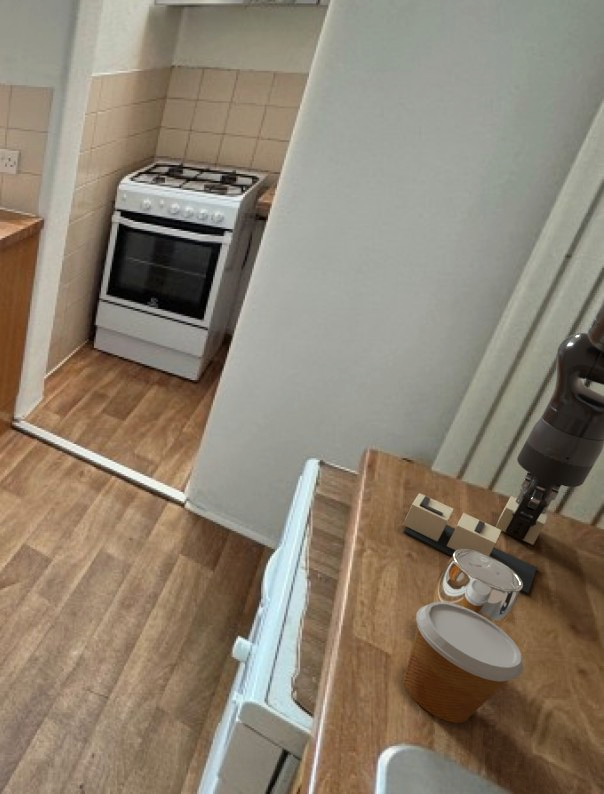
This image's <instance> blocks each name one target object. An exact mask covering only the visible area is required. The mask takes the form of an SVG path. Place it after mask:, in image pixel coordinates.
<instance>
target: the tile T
mask: <svg viewBox="0 0 604 794" xmlns="http://www.w3.org/2000/svg"><path fill="white" fill-rule="evenodd" d="M516 499H517V497H515V496H512V495H511V496H510V497H509V499H508V501H507V503H506V505H505V506H504V509H503V511H502V512H501V514H500V516H499V518H498V520H497V523H496V525H495V527H496V528H498V529H500V530H501V532H504V533H506V529H507V527H508V525H509V523H510V521H511V520H512V517H513V515H512V514H513V512H514V511H515V510H516V509H517V507H518V504H517V503H516ZM522 513H524V512H522ZM549 513H550V512H549V511H548V510H546V512H545V513H544V514H540V516H539V518H538V519H537V522H536V525H534V526H533V527H532V526H531V527H530V529H529V531H528V533H527V534H526V536H525V538H524V539H523V540H522V541H524V542H525V543H528V544H530V545H534V544H535V543H536V541H537V539H538V537H539V535H540V533H541V532H542V530H543V528H544V527H545V525H546V523H547V519H548V516H549ZM525 514H526V513H525ZM527 515H528V514H527ZM529 516H531V515H529Z"/></svg>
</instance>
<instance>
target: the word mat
mask: <svg viewBox="0 0 604 794" xmlns="http://www.w3.org/2000/svg"><path fill="white" fill-rule="evenodd" d="M454 530H455V527H452V526H451V525H448V524H447V525H446V527H445V529H444V530H443V532H442V534H441V536H440V538H439V540H438V541H435V540H433V539H431V538H429V537H427V536H425V535H423V534H421V533H419V532H417V531H415V530H413V529H411V528H409V527H407V526H405V528H404V530H403V534H406V535H408V536H409V537H411V538H414V539H415V540H417V541H419V542H421V543H423V544H425V545H426V546H429V547H431V548H433V549H435V550H437V551H439V552H441V553H443V554H445V555H447V556H448V557H450V558H451V557H452V556H453V554H454V552H455V551H456V550H454V549H452V548H450V547H448V546H447V544H448V542H449V540H450V538H451V536H452V534H453V532H454ZM489 556H491V557H493V558H495V559H497V560H498V561H500V562H502V563H503V564H505V565H506V566H508V567H509V568H510V569H512V570H513V571H514V572H515V573H516V574H517V575H518V576H519V577H520V579H521V581H522V583H523V587H522V589H521V591H520V593H523V594H525V595H529V593H530V590H531V587H532V584H533V581H534V578H535V575H536V572H537V570H538V568H537V566H535V565H532V564H530V563H529V562H526V561H524V560H522V559H519V558H517V557H515V556H513V555H511V554H509V553H507V552H505V551H503V550H502V549H501V550H500V549H499V548H496V547H494V548H493V550H492V552H491V553H490V555H489Z"/></svg>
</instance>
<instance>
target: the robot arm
mask: <svg viewBox="0 0 604 794" xmlns="http://www.w3.org/2000/svg"><path fill="white" fill-rule="evenodd" d="M582 380H586V381H589V382H593V383H595V384H599V385H602V386H604V299H603V300H602V303H601V304H600V307H599V309H598V311H597V312H596V314H595V316H594V318H593V320H592V321H591V323H590V325H589V327H588V330H587V332H578V333H574V334H571V335H569V336H567V337H565V338H564V339H563V340H562V341H561V342H560V343H559V346H558V347H557V351H556V376H555V384H554V389H553V392H552V394H551V396H550V399H549V401H548V402H547V405H546V407H545V408H544V410H543V413H542V415H541V416H540V418H539V419H538V420H537V422H535V424H534V425H533V427H532V429H531V430H530V432H529V435H528V436H527V438H526V441H525V442H524V444H523V446H522V447H521V450H520V452H519V453H518V456H517V458H516V460H517V463H518V465H519V466H520V467H521V468H522V469H523V470H525V471H526V474H525V475H524V478H523V481H522V482H521V486H520V487H521V488H520V490H519V493H518V495H517V496H516V498H517V499H516V503H517V504H518V507H517V509H516V510H515V511H514V512H513V514H512V515H513V517H512V520H511V521H510V523H509V525H508V527H507V529H506V532H505V533H506V534H507V535H508V536H511V537H513V538H515V539H517V540H520V541H523V539H524V538H525V536H526V534H527V533H528V531H529V529H530V527H531V526H532V527H533V526H534V525H536V522H537V519H538V518H539V516H540V514H544V513H545V512H546V511H548V508H549V506H550V505H551V503H552V501H555V500H556V498H557V497H558V495H559V492H560V489H561V487H562V486H563V487H570V488H576V487H581V486H582V485H583V484H584V483H585V481H586V480H587V478H588V476H589V474H590V473H591V471H592V469H593V467H594V466H595V464H596V462H597V460H598V459H599V457H600V455H601V453H603V452H602V451H603V449H604V395H602V394H601V393H598V392H596V391H594V390H593V389H591V388H589V387H588V386H586V385H585V384H584V383H583V381H582ZM522 512H524V513H522ZM525 513H526V514H525ZM527 514H528V515H527ZM529 515H531V516H529Z"/></svg>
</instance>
